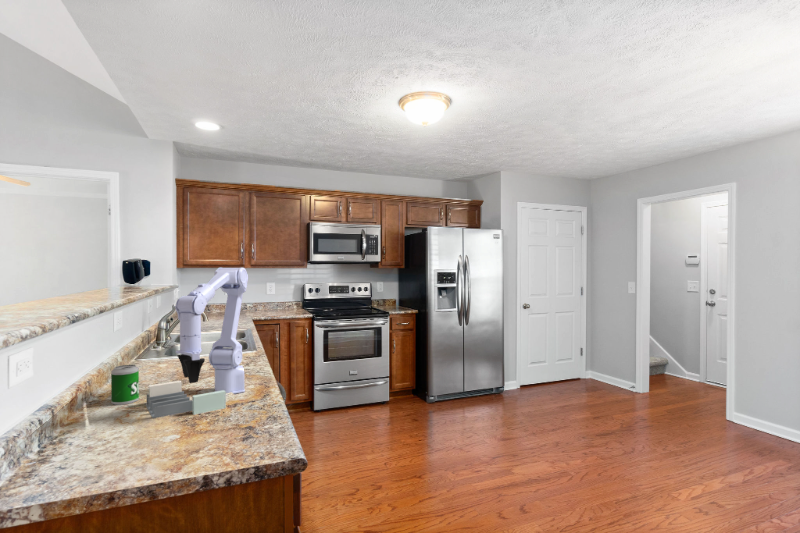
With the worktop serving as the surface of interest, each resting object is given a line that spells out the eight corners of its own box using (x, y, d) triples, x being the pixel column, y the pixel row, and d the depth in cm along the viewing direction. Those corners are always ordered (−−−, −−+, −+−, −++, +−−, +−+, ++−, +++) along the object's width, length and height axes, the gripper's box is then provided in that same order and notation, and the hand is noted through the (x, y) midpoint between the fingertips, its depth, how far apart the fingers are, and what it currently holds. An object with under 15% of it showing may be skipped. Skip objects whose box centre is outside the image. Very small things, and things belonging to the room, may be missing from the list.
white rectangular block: (180, 398, 139) (180, 380, 139) (181, 400, 138) (181, 381, 138) (148, 404, 134) (148, 385, 134) (149, 406, 132) (149, 386, 132)
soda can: (125, 408, 132) (125, 370, 132) (105, 406, 134) (105, 369, 134) (144, 400, 140) (144, 364, 140) (125, 399, 141) (124, 363, 141)
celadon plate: (223, 409, 132) (223, 390, 132) (225, 411, 130) (225, 391, 130) (192, 415, 126) (192, 395, 126) (193, 417, 125) (193, 397, 125)
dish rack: (182, 399, 141) (182, 388, 141) (194, 412, 128) (194, 400, 128) (144, 406, 134) (144, 394, 134) (152, 421, 122) (152, 408, 122)
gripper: (171, 333, 132) (171, 376, 132) (180, 339, 121) (180, 387, 121) (196, 331, 136) (196, 373, 136) (207, 337, 125) (207, 383, 125)
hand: (190, 379), depth 129 cm, fingers open, 7 cm apart
